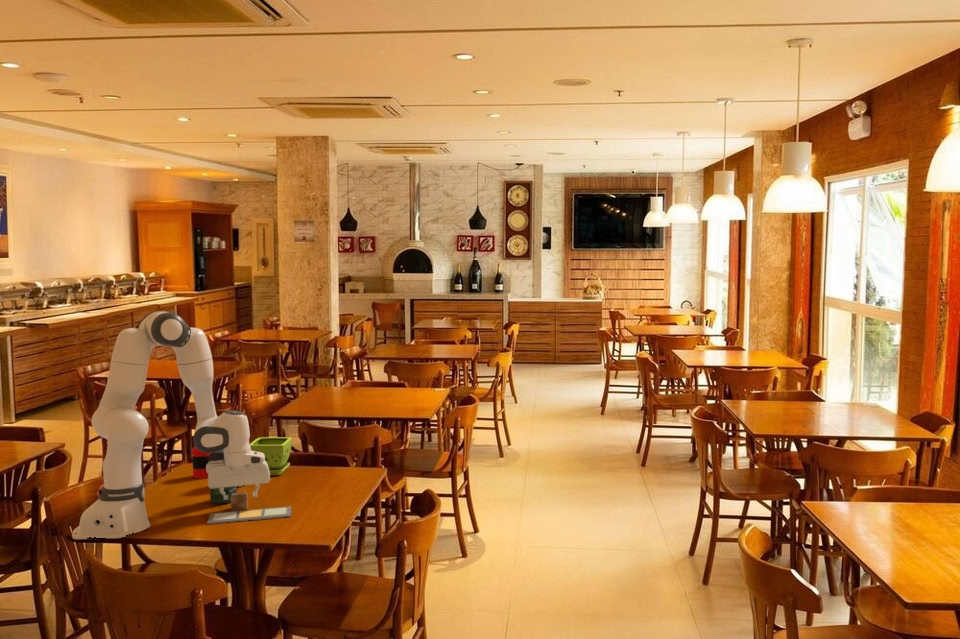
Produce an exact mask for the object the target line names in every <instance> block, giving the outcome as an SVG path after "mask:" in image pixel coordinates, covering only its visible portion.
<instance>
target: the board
mask: <svg viewBox="0 0 960 639" xmlns="http://www.w3.org/2000/svg"><path fill="white" fill-rule="evenodd" d="M284 517H286V518H292V505H291V506H279V507H268V508H257V509H255V508H254V509H247V510H243V511H232V510H231V511H221V512H212V513H210V514H209V516H208V520H207V522H206V523H207V525H214V524H213V523H218V524H226V522H230V523H237V522H236V521H241V522H249V521H248V520H252V521H259V520H260V521H261V520H262V519H263V520H271V519H272V518H274V519H285V518H284Z"/></svg>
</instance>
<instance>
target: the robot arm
mask: <svg viewBox="0 0 960 639" xmlns="http://www.w3.org/2000/svg"><path fill="white" fill-rule="evenodd" d="M156 346H161V347H171V348H172V350H173V351H174V353H175V356H176V357H175V358H176V363H177V370H178V373H179V376H180V378H181V381H182V384H183V385H184V386H185V387H187V389H189V391H190V393H191V395H192V398H193V402H194V406H195V412H196V418H197V419H196V420H197V421H196V424H195V427H194V428H195V429H194V433H193V437H192V442H193V445H194V447H196V448H197V449H198V450H199V451H201V452H204V453H210V452H215V451H218V450H221V449H223V450H224V459H223V460H216V461H214V460H213V461H210V462H209V463H210V464H209V463H207V465H206V472H207V473H208V474H209V475H208V478H207V487H208V488H209V489H214V488H219V489H220V492H221V494H222V495H223V497H224V500H228V494H226V493H225V492H224V487H233V486H242V487H243V485H244V486H250V485H251V486H252V485H255V490H252V498H257V497H258V491H259V489H260V488H261V484H268V483H270V481H271V475H270V472H269V467H268V464H267V462H266V461H265V455H264V453H261V452H256V451H251V447H250V444H251V443H250V438H251V437H250V436H251V434H250V431H251V430H250V425H249V419H248V416H247V414H246V413H244V412H243V411H241V410H234V409H231V410H225V411H223V412H222V414H220V415H219V416H218V414H217V410H216V405H215V400H214V394H213V384H214V383H213V382H214V362H213V361H214V360H213V355H212V351H211V346H210V344H209V341H208V339H207V336H206V333H205V331H204V330H202V328H197V327H190V326H189V325H188V324H187V323H186V322H185V320H184V319H183V317H181V316H180V315H178V314H176V313H174V312H169V311H166V310H159V311H151V312H148V313H147V314H145V316H144V317H143V318H142V319H141V320H140V321H139V323H138V324H137V325H136V326H135V327H130V328H126V329H123V330H121V331H120V332H119V333H118V335H117V337H116V341H115V343H114V346H113V350H112V354H111V359H110V364H109V370H108V375H107V381H106V382H107V383H106V386H105V390H104V392H103V394H102V398H101V399H100V402H99V405H98V407H97V409H96V410H95V412H94V413H93V415H92V417H91V425H92V428H93V430H94V431H95V433H97V435H99V436H100V437H101V438H102V439H105V440H106V441H107V448H106V449H107V450H106V453H105V458H104V460H103V461H102V472H103V475H102V476H103V484H100V486H99V487H98V490H97V500H96V501H95V502H93V503H92V504H91V505H90V506H89V507H87V508H86V509H85V510H84V511H83V512H82V514H81V516H80V521H79V526H77V527H76V528H74V529H73V530H72V533H71V538H72V539H73V540H88V539H87V538H89V537H91V538H94V537H96V538H106V539H121V538H122V537H123V538H125V537H127V536H126V535H128V536H130V535H133V534H132V533H134V534H136V533H140V532H142V531H144V530H146V529H149V528H150V527H151V522H150V521H149V517H148V515H147V510H146V505H145V498H146V495H145V494H146V492H145V485H144V481H143V476H142V453H143V447H144V441H145V438H146V437H147V435H148V433H149V423H148V421H147V418H146V417H145V416H144V415H143V414H142V413H140V412H139V411H138V410H135V409H136V408H135V407H136V404H137V403H138V400H139V397H140V396H141V394H142V393H144V391H145V387H146V382H147V381H146V380H147V376H148V369H149V362H150V356H151V353H152V351H153V350H154V348H155V347H156ZM129 534H130V535H129Z"/></svg>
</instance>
